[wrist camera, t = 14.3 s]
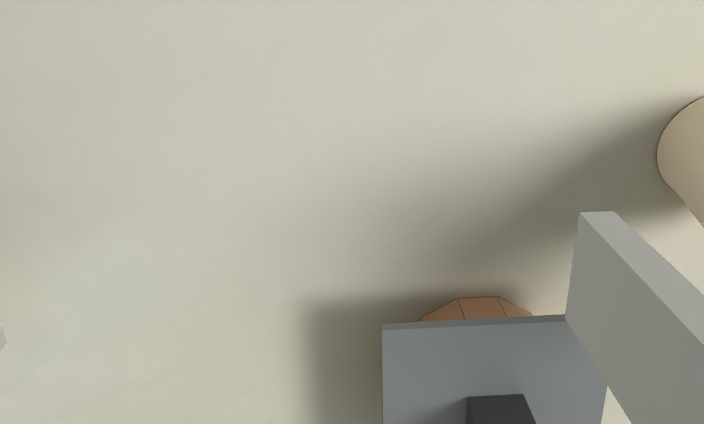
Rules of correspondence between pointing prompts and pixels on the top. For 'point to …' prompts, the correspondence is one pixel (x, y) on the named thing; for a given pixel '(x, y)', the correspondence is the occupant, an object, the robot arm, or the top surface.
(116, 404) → the top surface
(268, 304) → the top surface
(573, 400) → the cover sheet
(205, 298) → the top surface
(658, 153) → the water bottle
